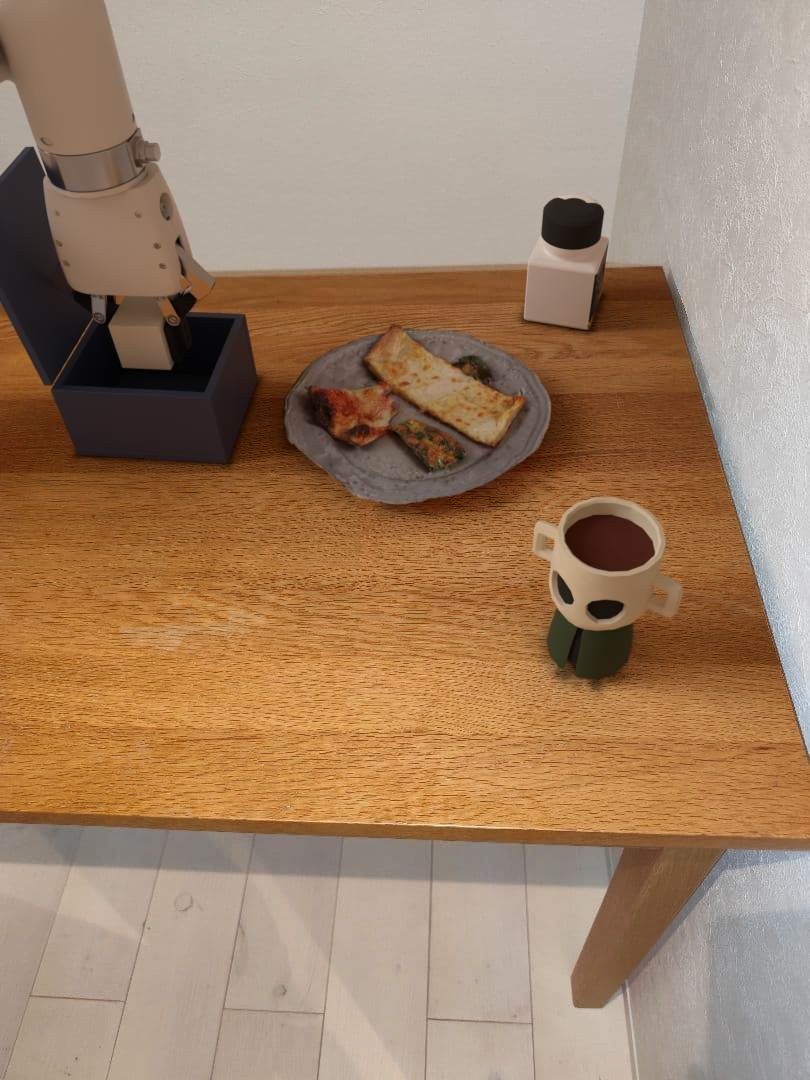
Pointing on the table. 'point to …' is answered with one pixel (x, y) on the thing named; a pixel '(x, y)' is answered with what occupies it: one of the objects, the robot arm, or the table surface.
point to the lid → (34, 271)
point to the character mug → (603, 581)
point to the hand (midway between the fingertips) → (153, 350)
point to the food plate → (416, 414)
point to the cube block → (140, 334)
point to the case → (160, 395)
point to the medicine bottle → (567, 263)
